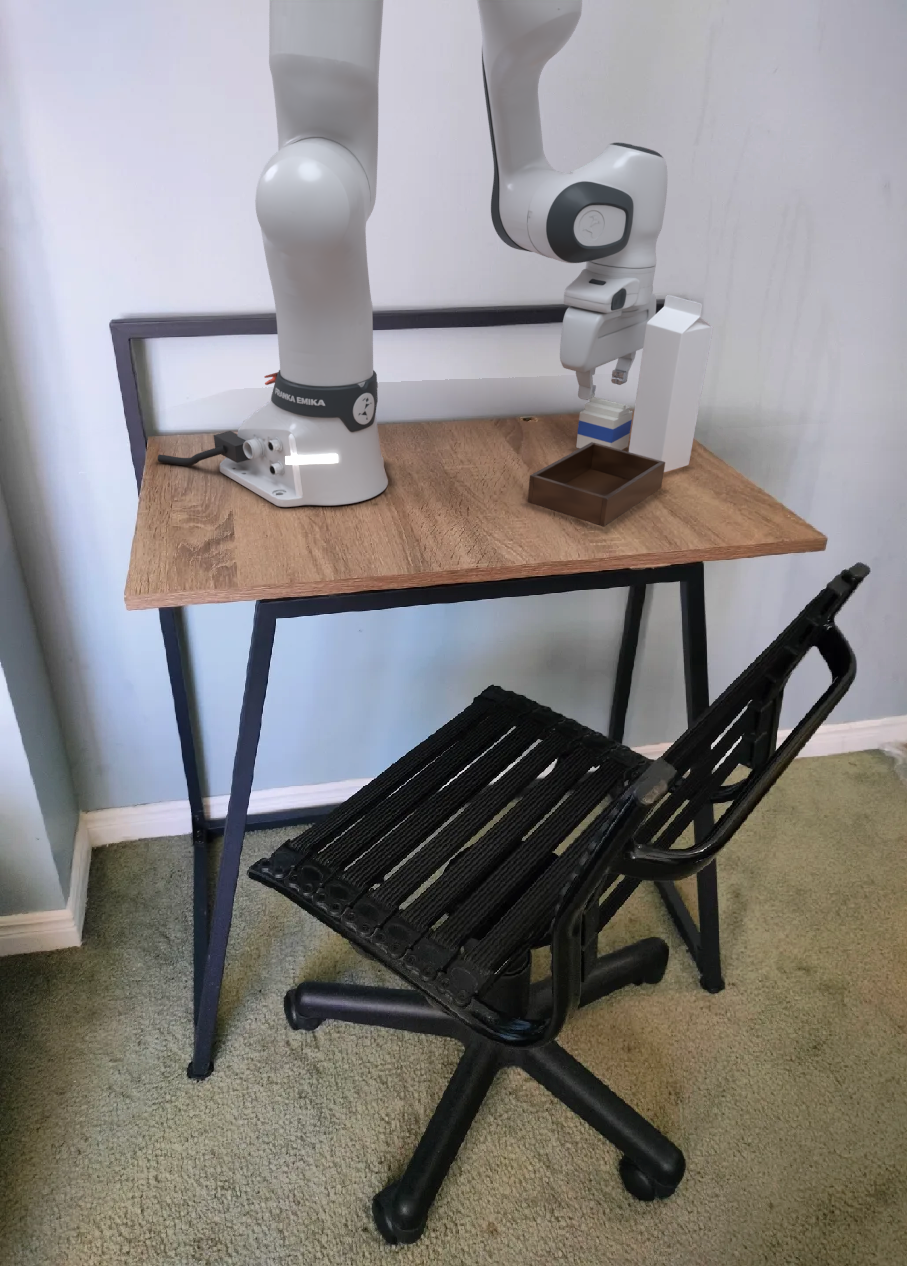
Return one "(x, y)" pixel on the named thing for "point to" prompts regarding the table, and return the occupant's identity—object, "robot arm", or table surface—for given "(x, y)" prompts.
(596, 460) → the box
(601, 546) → the table surface
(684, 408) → the milk
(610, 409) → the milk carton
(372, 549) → the table surface
